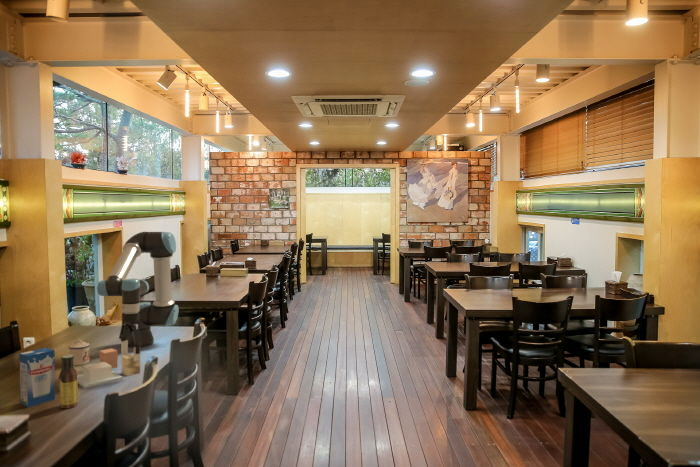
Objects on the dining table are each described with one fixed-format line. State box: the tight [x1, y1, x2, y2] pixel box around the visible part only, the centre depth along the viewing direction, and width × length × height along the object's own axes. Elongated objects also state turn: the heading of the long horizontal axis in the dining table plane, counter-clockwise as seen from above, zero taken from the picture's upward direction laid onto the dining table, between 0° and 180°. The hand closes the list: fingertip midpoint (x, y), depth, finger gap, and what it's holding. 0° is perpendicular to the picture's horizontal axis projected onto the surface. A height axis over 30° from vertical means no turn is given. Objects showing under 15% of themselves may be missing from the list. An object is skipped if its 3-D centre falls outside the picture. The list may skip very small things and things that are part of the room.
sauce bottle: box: [58, 354, 79, 409], centre depth 187 cm, size 7×6×20 cm
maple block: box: [121, 353, 141, 377], centre depth 226 cm, size 6×6×8 cm
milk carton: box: [19, 347, 56, 408], centre depth 191 cm, size 10×6×20 cm, turn 148°
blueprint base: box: [77, 361, 124, 389], centre depth 217 cm, size 16×16×6 cm
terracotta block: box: [99, 347, 118, 369], centre depth 234 cm, size 6×6×8 cm
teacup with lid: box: [68, 339, 91, 367], centre depth 240 cm, size 12×9×12 cm
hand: (130, 357), depth 226 cm, fingers open, 13 cm apart
